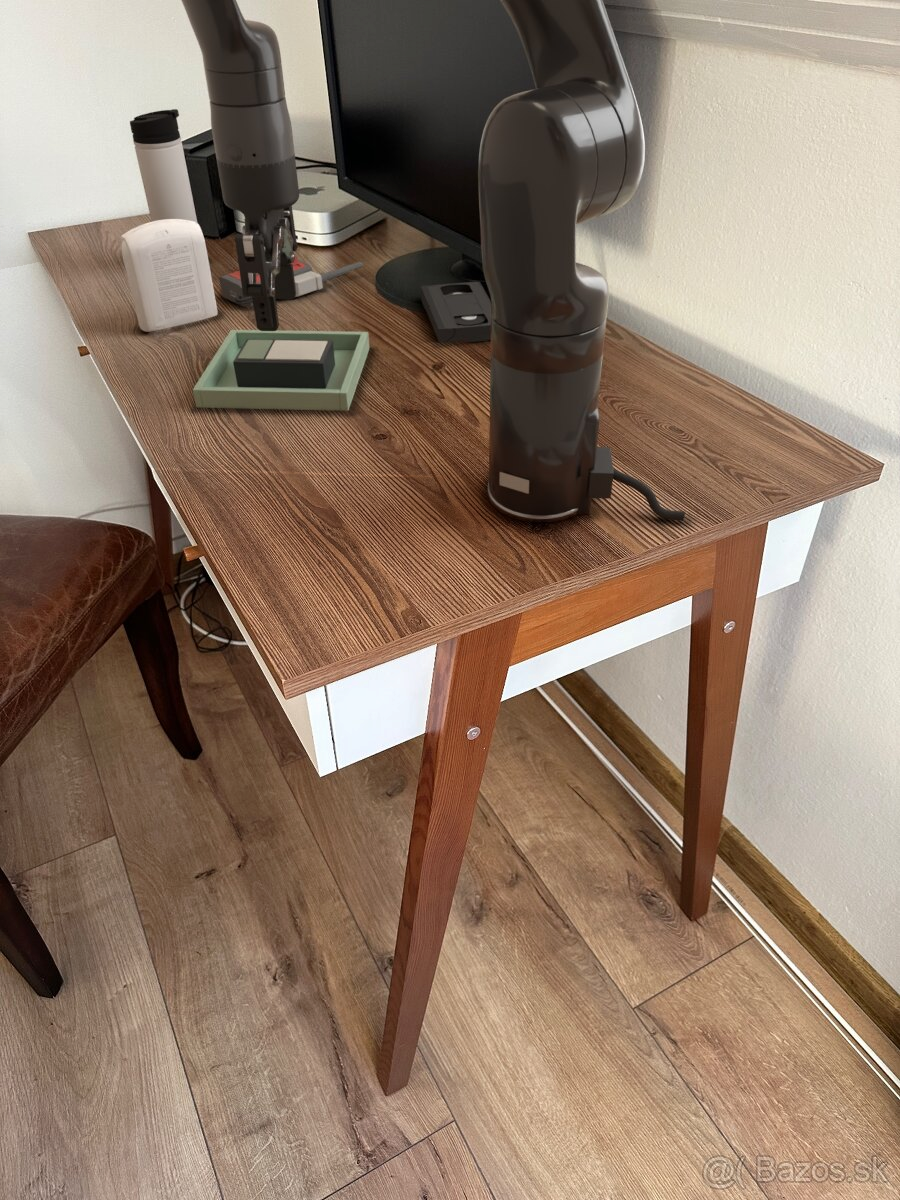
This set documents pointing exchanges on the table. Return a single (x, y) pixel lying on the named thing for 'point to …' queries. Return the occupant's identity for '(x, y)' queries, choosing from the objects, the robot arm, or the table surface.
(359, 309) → the table surface
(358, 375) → the tray
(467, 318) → the vhs tape
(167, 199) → the travel mug
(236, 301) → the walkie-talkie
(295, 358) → the black rectangular box
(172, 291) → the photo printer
